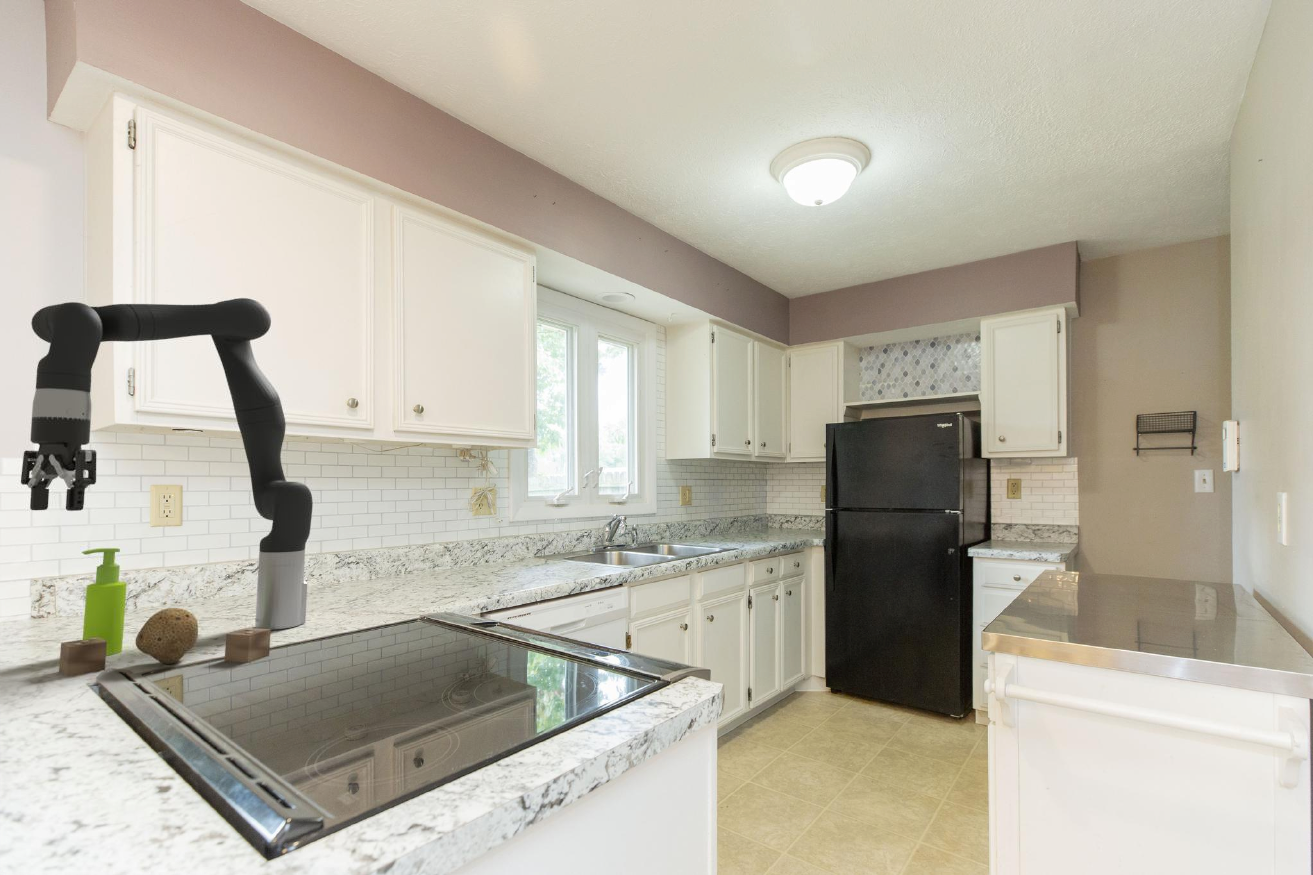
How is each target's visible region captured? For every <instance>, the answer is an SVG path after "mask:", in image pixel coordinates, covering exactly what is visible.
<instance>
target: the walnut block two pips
mask: <svg viewBox="0 0 1313 875" xmlns="http://www.w3.org/2000/svg"><path fill="white" fill-rule="evenodd" d="M271 631H272V630H271V629H256V628H255V627H254V628H253V627H252V628H251V627H247V628H243V629H239V630H235V631H232V632H229V633H226V634H225V645H224V646H225V647H224V648H225V650H224V662H232V663H245V664H246V663H251V662H255V661H257V660H260V659H263V658H266V657H269V656H270V649H271V648H270V646H271Z"/></svg>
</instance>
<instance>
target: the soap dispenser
mask: <svg viewBox="0 0 1313 875" xmlns="http://www.w3.org/2000/svg"><path fill="white" fill-rule="evenodd" d="M120 551H121V549H120V548H117V547H116V548H113V547H108V548H107V547H106V548H105V547H103V548H92V549H88V550H84V551H81V553H82V554H83V555H91V554H99V553H103V557H102V558H103V559H102V564H100V565H98V566H96V571H95V572H96V573H95V582H94V583H91V584H87V585H86V590H85V591H86V592H85V602H84V603H85V605H84V617H83V632H82V640H84V639H89V638H98V637H99V638H101V639H103V640H105V641H107V647H106V657H107V656H112V655H115V654H116V655H117V654H119V653H121V652H122V651H123V643H124V642H123V639H124V628H125V627H124V626H125V625H124V624H125V613H126V599H127V597H126V596H127V585H128V583H127V582H125V581H119V579H120V569H121V568H120V566H121V565H119V564H117V563H115V560H116V553H120Z"/></svg>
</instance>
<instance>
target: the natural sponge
mask: <svg viewBox="0 0 1313 875" xmlns="http://www.w3.org/2000/svg"><path fill="white" fill-rule="evenodd" d="M198 638H199V625H198V620H197V618H196V616H194V614H192V612H190V611H188V610H186V609H184V608H183V609H182V608H177V607H168V608H164V609H161V610H159V611H158V612H156V613H153V614H152V615H151V617H150V618H148V619H147V621H146V622H145V623H144V624H143V626H142V627H141V628H140V629H139V631H138V633H137V634H136V637H135V645H136V647H137V648H136V649H138V650H139V651H140V652H141V653H144V654H146V655H149V656H151V657H152V658H153V659H155V661H158V662H159V663H160V664H161V663H162V664H165V665H172V664H175V663H176V662H178V661H180V660H181V659H182V658H183V657H184V656H185V655H186V654H187V652H189V651H190V650H191V649H193V647H194V646H195V644H196V643H197V640H198Z"/></svg>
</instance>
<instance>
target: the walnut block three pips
mask: <svg viewBox="0 0 1313 875" xmlns="http://www.w3.org/2000/svg"><path fill="white" fill-rule="evenodd" d="M106 647H107V641H105V640H103V639H101V638H99V637H98V638H89V639H84V640H83V639H79V640H72V641H66V642H63V641H62V642H61V643H60V654H59V666H58V672H59V673H61V675H63V676H65V677H66V678H69V677H75V676H79V675H85V674H91V673H97V672H102V670H103V671H106V660H107V659H106V658H107V656H106Z"/></svg>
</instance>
